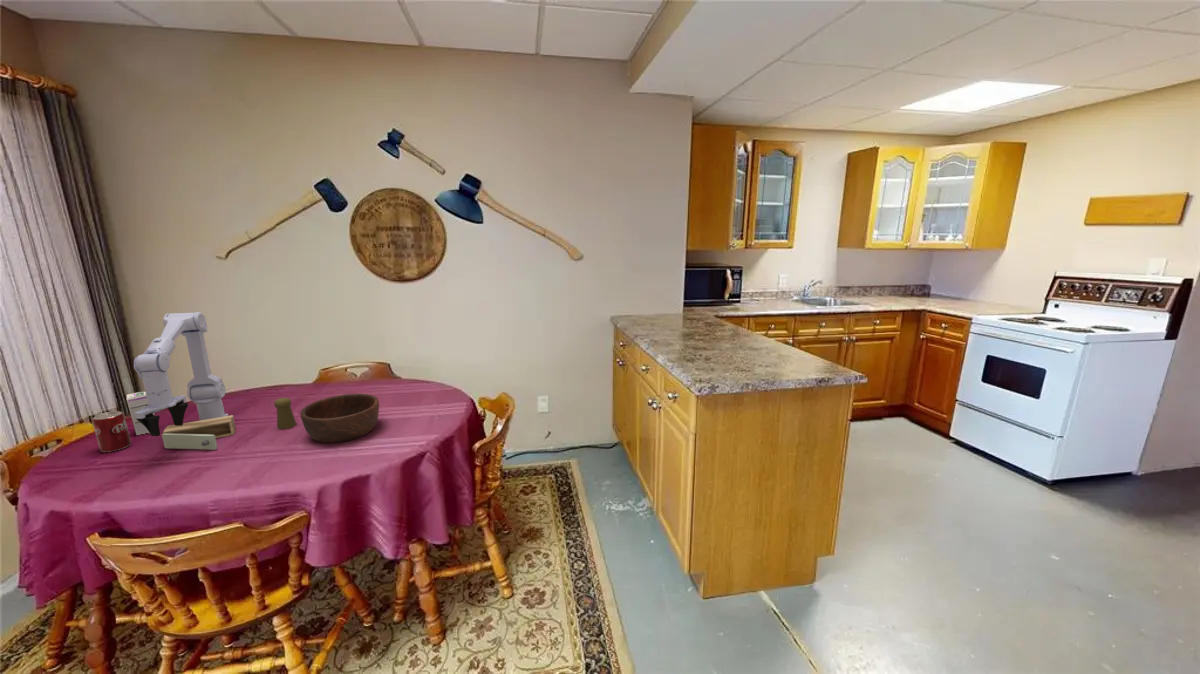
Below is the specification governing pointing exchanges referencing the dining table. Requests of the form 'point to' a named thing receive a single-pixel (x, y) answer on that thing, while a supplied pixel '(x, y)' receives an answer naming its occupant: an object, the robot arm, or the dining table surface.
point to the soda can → (111, 431)
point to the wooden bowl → (340, 417)
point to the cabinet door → (189, 441)
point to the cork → (284, 414)
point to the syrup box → (137, 409)
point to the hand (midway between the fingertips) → (167, 430)
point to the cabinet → (206, 427)
